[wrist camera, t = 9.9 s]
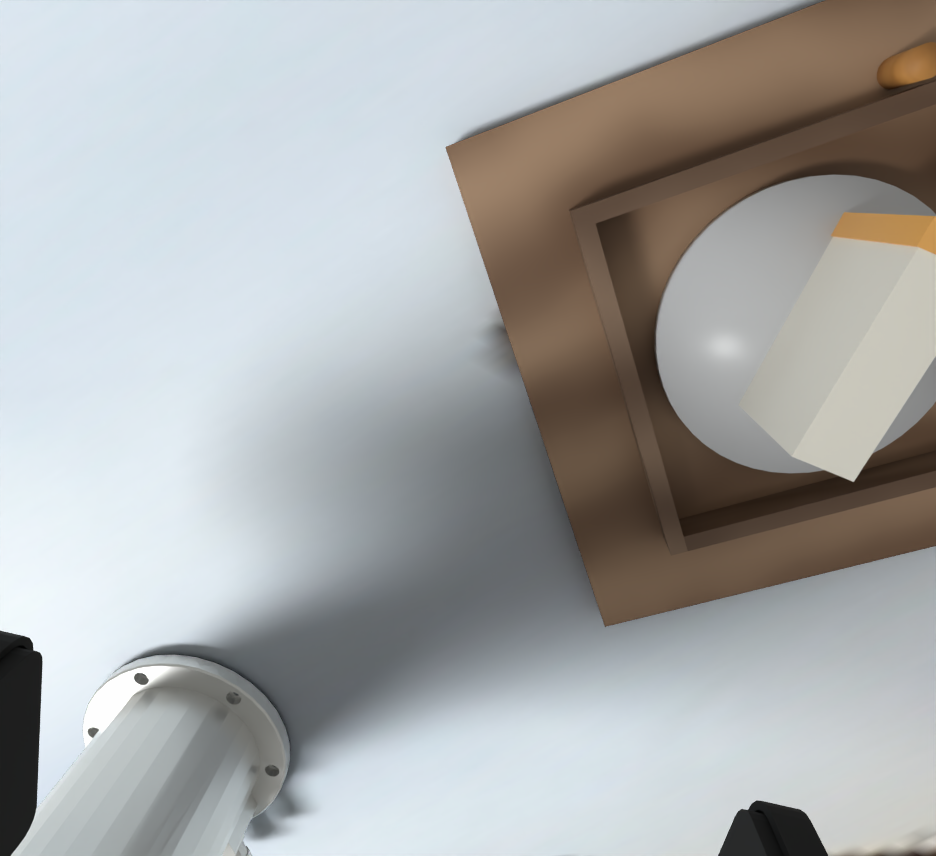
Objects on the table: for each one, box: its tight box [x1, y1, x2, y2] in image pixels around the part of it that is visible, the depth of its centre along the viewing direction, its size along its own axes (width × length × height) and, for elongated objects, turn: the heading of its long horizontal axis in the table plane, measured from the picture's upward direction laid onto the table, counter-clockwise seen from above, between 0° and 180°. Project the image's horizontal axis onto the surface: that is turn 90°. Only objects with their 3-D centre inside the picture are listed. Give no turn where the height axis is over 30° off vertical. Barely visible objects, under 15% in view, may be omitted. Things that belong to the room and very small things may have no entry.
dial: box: [654, 175, 936, 482], centre depth 27 cm, size 13×13×7 cm
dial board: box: [446, 0, 936, 627], centre depth 30 cm, size 25×25×4 cm
